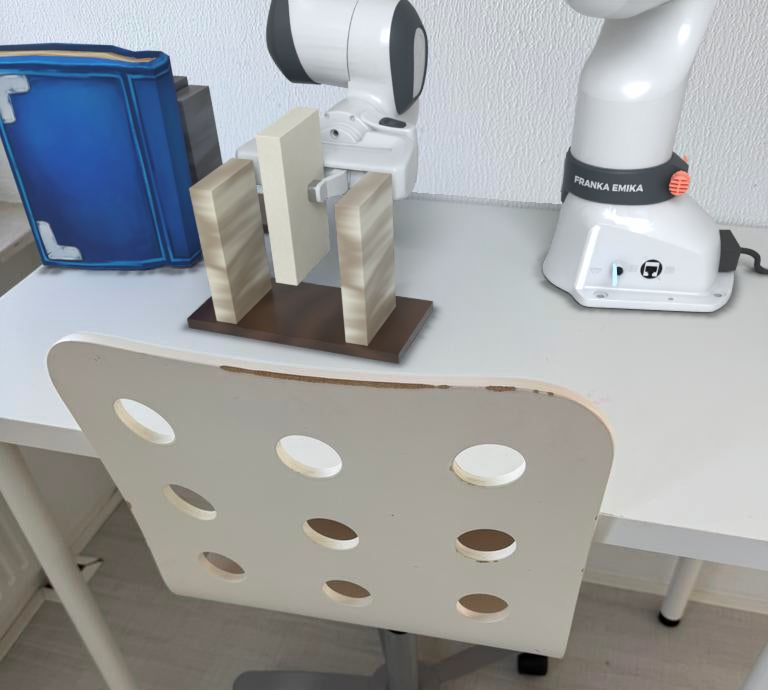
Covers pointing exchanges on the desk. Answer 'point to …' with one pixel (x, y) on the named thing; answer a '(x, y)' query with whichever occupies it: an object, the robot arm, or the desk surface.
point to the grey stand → (202, 133)
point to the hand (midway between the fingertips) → (296, 193)
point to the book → (98, 155)
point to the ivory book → (293, 193)
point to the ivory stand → (306, 300)
